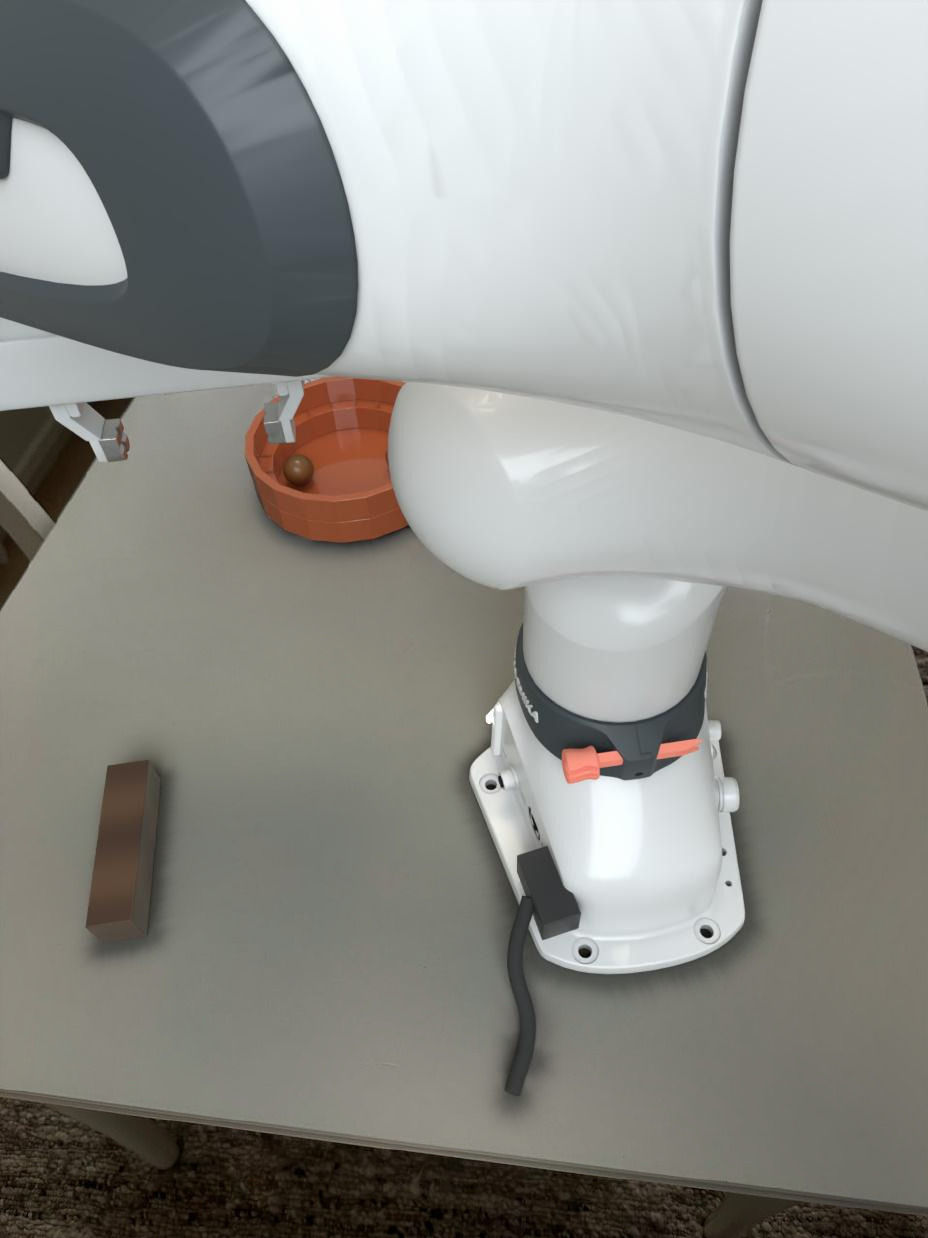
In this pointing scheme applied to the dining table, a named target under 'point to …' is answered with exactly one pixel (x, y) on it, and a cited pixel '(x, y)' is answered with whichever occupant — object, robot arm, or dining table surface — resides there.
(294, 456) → the hazelnut
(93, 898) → the stick
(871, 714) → the dining table surface
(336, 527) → the bowl
